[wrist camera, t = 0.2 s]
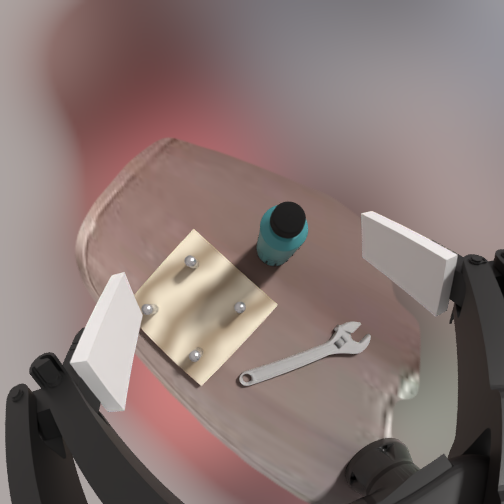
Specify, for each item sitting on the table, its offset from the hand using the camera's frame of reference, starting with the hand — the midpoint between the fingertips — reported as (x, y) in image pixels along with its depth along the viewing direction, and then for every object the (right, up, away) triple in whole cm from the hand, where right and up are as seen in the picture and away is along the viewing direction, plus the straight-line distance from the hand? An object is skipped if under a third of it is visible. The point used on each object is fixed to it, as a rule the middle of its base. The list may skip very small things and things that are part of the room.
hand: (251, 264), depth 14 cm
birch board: (-10, -9, +34) cm, 37 cm away
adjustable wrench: (+10, -18, +34) cm, 39 cm away
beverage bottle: (+4, +1, +36) cm, 37 cm away
